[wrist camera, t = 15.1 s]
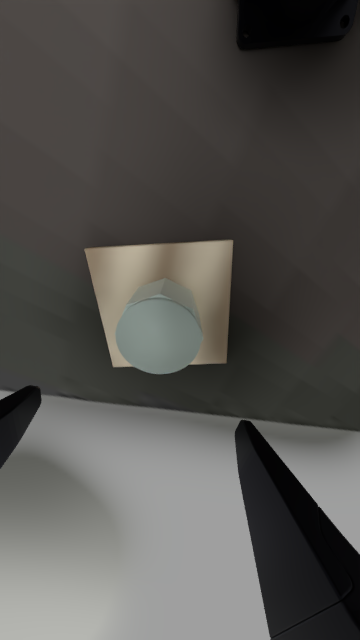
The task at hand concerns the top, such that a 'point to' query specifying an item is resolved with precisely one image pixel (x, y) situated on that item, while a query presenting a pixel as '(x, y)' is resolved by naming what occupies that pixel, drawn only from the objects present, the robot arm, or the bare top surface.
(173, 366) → the cap
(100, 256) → the holder
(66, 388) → the top surface
